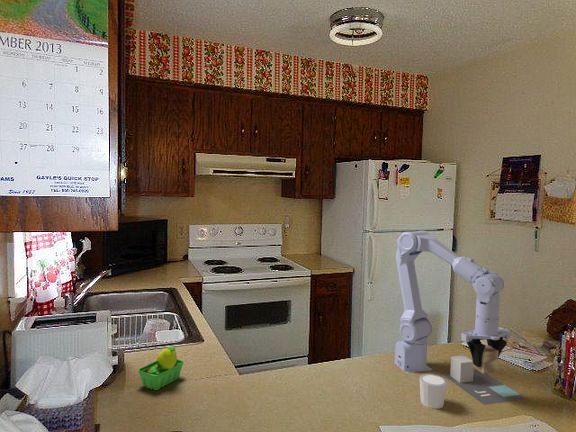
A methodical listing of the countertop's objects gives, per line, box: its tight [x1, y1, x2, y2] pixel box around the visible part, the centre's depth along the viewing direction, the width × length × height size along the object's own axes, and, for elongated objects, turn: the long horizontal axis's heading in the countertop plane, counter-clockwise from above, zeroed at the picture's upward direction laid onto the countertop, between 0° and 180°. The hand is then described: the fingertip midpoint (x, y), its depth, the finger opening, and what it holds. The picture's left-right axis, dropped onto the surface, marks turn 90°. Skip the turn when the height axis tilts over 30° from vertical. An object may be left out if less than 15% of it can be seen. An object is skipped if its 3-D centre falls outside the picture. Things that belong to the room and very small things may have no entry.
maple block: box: [471, 344, 499, 374], centre depth 109 cm, size 4×4×6 cm
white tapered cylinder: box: [419, 373, 448, 410], centre depth 105 cm, size 7×7×7 cm
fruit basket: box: [137, 345, 185, 391], centre depth 114 cm, size 11×9×11 cm
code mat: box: [441, 369, 528, 406], centre depth 115 cm, size 14×18×1 cm
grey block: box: [449, 355, 475, 383], centre depth 118 cm, size 4×4×6 cm
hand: (484, 364), depth 109 cm, fingers closed on maple block, 4 cm apart
